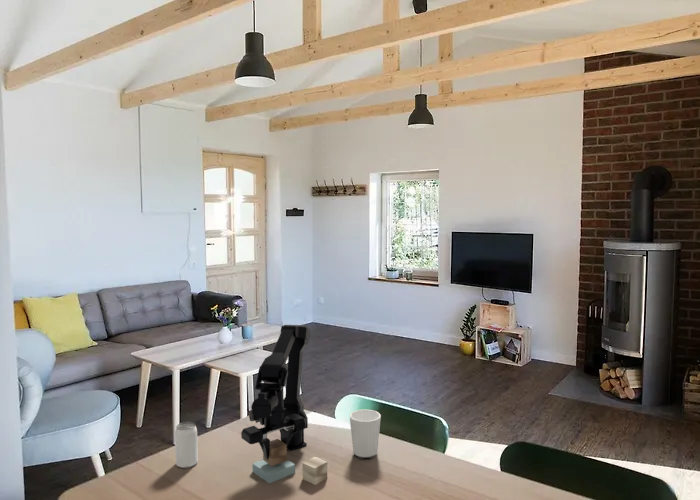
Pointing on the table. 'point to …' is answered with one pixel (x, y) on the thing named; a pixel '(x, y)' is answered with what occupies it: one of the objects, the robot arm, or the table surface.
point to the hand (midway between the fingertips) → (274, 456)
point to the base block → (273, 470)
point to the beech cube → (314, 470)
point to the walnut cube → (276, 452)
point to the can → (186, 445)
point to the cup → (365, 432)
